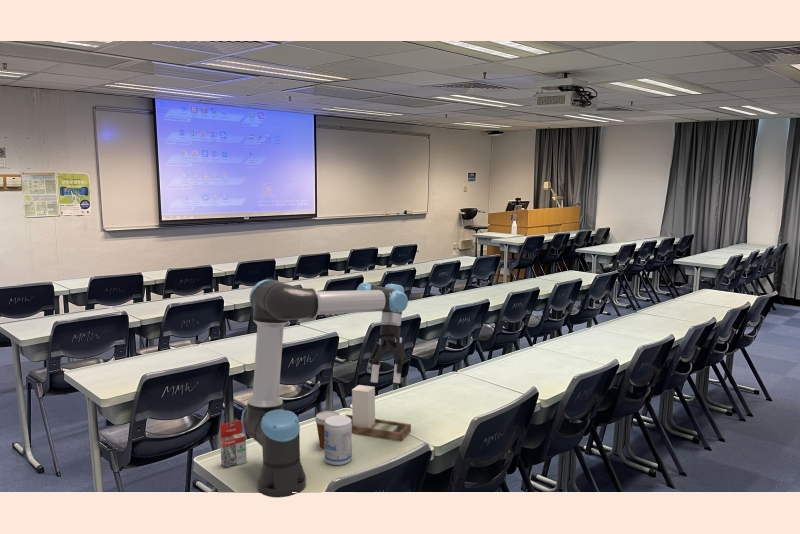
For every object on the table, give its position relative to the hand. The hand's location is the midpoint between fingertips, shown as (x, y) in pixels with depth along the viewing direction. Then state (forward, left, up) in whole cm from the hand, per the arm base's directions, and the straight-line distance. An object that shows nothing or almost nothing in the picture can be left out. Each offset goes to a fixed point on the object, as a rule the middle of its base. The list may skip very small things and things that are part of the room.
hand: (385, 382), depth 213 cm
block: (-3, +16, -22) cm, 27 cm away
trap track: (0, +13, -24) cm, 27 cm away
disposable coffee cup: (-20, +7, -24) cm, 32 cm away
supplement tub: (-20, -5, -24) cm, 32 cm away
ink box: (-54, +7, -24) cm, 59 cm away
